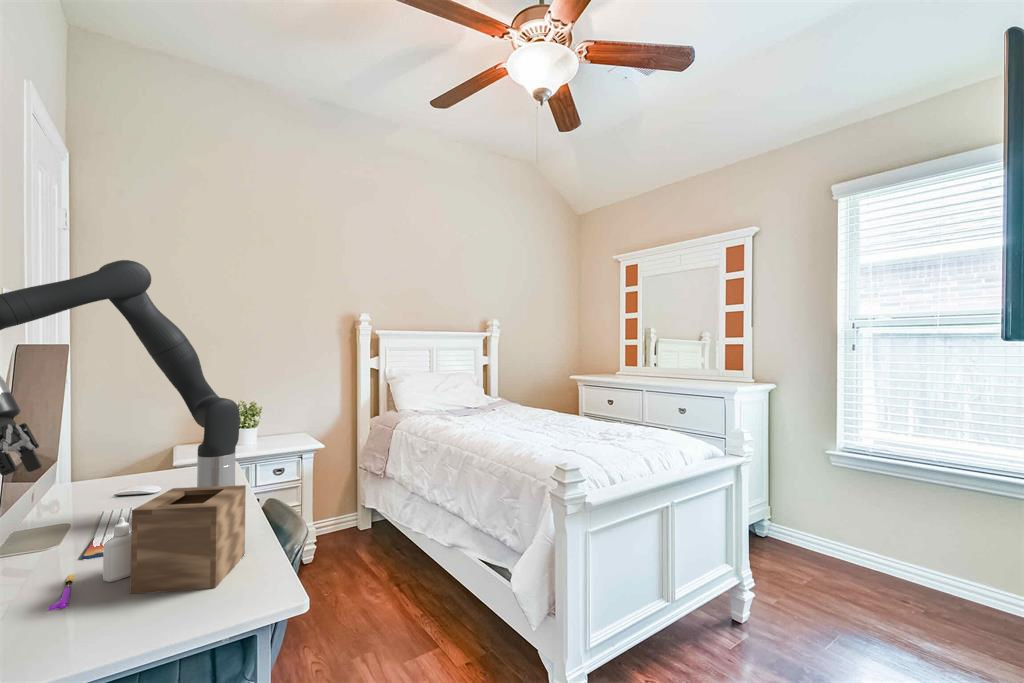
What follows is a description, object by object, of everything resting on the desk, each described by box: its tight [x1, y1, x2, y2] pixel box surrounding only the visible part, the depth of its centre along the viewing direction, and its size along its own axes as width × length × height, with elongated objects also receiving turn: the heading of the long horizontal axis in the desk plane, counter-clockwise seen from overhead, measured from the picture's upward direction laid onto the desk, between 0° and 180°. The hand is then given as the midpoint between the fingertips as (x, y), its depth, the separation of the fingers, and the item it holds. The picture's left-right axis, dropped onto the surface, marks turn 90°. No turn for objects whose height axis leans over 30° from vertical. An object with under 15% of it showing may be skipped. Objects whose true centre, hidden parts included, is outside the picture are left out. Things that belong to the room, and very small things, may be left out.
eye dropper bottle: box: [102, 516, 131, 583], centre depth 99 cm, size 4×6×12 cm
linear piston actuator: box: [47, 573, 75, 612], centre depth 92 cm, size 3×1×16 cm
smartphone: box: [81, 536, 104, 560], centre depth 115 cm, size 7×15×1 cm, turn 32°
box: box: [129, 484, 247, 595], centre depth 100 cm, size 15×15×16 cm
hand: (23, 471), depth 95 cm, fingers open, 8 cm apart
